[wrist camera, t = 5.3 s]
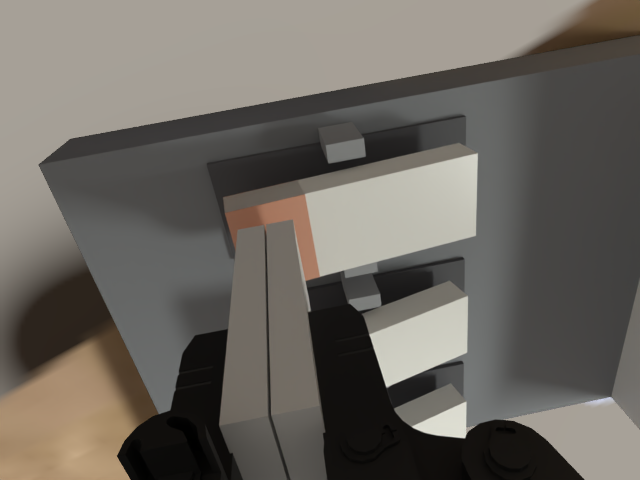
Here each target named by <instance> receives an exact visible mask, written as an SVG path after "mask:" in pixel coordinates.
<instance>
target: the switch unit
mask: <svg viewBox="0 0 640 480" xmlns="http://www.w3.org/2000/svg"><path fill="white" fill-rule="evenodd" d="M456 143H460V144H462V145H464V146H466V147H467V148H469V149H471V150H473V151H475V152H476V153H478V165H477V208H476V236H473V237H470V238H466V239H462V240H458V241H454V242H451V243H447V244H443V245H439V246H435V247H431V248H428V249H424V250H420V251H416V252H412V253H408V254H405V255H401V256H397V257H393V258H389V259H386V260H382V261H378V262H374V263H370V264H366V265H363V266H359V267H355V268H351V269H347V270H343V271H340V272H336V273H332V274H328V275H324V276H321V277H318V278H314V279H310V280H307V281H305V282H306V286H307V291H308V296H309V303H310V309H311V311H316V310H321V309H326V308H331V307H336V306H341V305H347V304H351V305H352V306H353V307H354V308H355V309H356V310H358V311H359V312H360V313H361V314H363V313H365V312H368V311H371V310H373V309H376V308H379V307H381V306H384V305H387V304H389V303H392V302H395V301H397V300H400V299H402V298H405V297H408V296H410V295H413V294H416V293H418V292H421V291H424V290H426V289H429V288H432V287H434V286H437V285H439V284H442V283H445V282H447V281H451V282H452V283H453V284H454V285H455V286H457V287H458V288H459V289H460V290H461V291H463V292H464V293H465V294H466V295H468V331H467V353H465V354H463V355H461V356H458V357H456V358H454V359H451V360H449V361H447V362H444V363H442V364H440V365H437V366H435V367H433V368H430V369H428V370H426V371H423V372H421V373H419V374H416V375H414V376H412V377H409V378H407V379H405V380H402V381H400V382H398V383H395V384H393V385H391V386H388V387H386V388H387V391H388V394H389V397H390V401H391V404H392V406H393V408H396V407H398V406H401V405H403V404H405V403H408V402H410V401H412V400H414V399H417V398H419V397H421V396H423V395H426V394H428V393H430V392H432V391H435V390H437V389H439V388H441V387H444V386H446V385H448V384H450V383H451V384H452V385H453V387H454V388H455V389H456V390H457V391H458V392H459V393H460V395H461V396H462V397H463V398H464V399H465V400H466V427H470V426H475V425H478V424H479V423H483V422H487V421H491V420H495V419H497V420H503V419H508V418H513V417H518V416H522V415H527V414H532V413H536V412H541V411H546V410H551V409H555V408H560V407H565V406H570V405H574V404H579V403H584V402H589V401H593V400H598V399H603V398H608V397H612V398H613V399H614V401H615V402H616V403H617V404H618V405H619V406H620V407H621V409H622V410H623V411H624V412H625V413H626V414H627V415H628V416H629V418H630V419H631V420H632V421H633V422H634V423H635V425H636V426H637V427H638V428H639V429H640V35H637V36H632V37H626V38H621V39H615V40H610V41H604V42H599V43H593V44H588V45H582V46H577V47H571V48H566V49H560V50H555V51H549V52H544V53H539V54H533V55H528V56H522V57H517V58H511V59H506V60H500V61H495V62H489V63H484V64H478V65H473V66H467V67H462V68H457V69H451V70H446V71H440V72H434V73H429V74H424V75H418V76H413V77H407V78H402V79H397V80H391V81H385V82H380V83H374V84H369V85H363V86H358V87H353V88H347V89H341V90H336V91H331V92H325V93H320V94H314V95H309V96H303V97H298V98H292V99H287V100H281V101H276V102H270V103H265V104H259V105H254V106H249V107H243V108H237V109H232V110H226V111H221V112H215V113H211V114H205V115H199V116H193V117H188V118H183V119H177V120H172V121H167V122H161V123H155V124H150V125H144V126H139V127H133V128H128V129H122V130H117V131H111V132H106V133H101V134H95V135H89V136H85V137H79V138H73V139H70V140H69V141H67V142H66V143H65V144H64V145H62V146H61V147H60V148H59V149H57V150H56V151H55V152H54V153H52V154H51V155H50V156H49V157H47V158H46V159H45V160H44V161H42V163H40V164H39V167H40V169H41V171H42V173H43V175H44V177H45V179H46V181H47V183H48V185H49V188H50V190H51V192H52V194H53V196H54V198H55V200H56V202H57V204H58V206H59V208H60V210H61V212H62V214H63V216H64V219H65V221H66V222H67V225H68V226H69V229H70V231H71V233H72V235H73V237H74V239H75V241H76V243H77V245H78V247H79V250H80V252H81V254H82V256H83V258H84V260H85V262H86V264H87V266H88V268H89V270H90V272H91V274H92V276H93V279H94V281H95V283H96V285H97V287H98V288H99V291H100V293H101V295H102V297H103V299H104V301H105V303H106V305H107V308H108V310H109V311H110V314H111V316H112V318H113V320H114V322H115V324H116V326H117V328H118V330H119V332H120V334H121V337H122V339H123V341H124V343H125V345H126V347H127V349H128V351H129V353H130V355H131V357H132V359H133V361H134V363H135V366H136V368H137V370H138V372H139V374H140V376H141V378H142V380H143V382H144V384H145V386H146V388H147V390H148V392H149V395H150V397H151V399H152V401H153V403H154V405H155V407H156V409H157V411H158V413H159V414H161V413H164V412H167V411H170V409H171V405H172V400H173V395H174V391H176V388H175V386H176V381H177V376H178V375H179V367H180V362H181V358H182V353H183V352H184V350H185V349H186V347H187V346H188V345H189V343H190V342H191V340H192V339H193V337H194V336H195V335H199V334H204V333H210V332H215V331H220V330H225V329H228V326H229V315H230V305H231V294H232V284H233V273H234V262H235V252H236V251H235V247H234V243H233V240H232V236H231V233H230V229H229V226H228V222H227V219H226V215H225V210H224V202H223V197H226V196H230V195H235V194H239V193H243V192H248V191H252V190H256V189H261V188H265V187H269V186H274V185H278V184H282V183H286V182H291V181H295V180H300V179H305V178H309V177H313V176H318V175H322V174H326V173H331V172H335V171H339V170H344V169H348V168H352V167H357V166H361V165H365V164H370V163H374V162H378V161H383V160H387V159H391V158H395V157H400V156H404V155H408V154H413V153H417V152H421V151H426V150H430V149H434V148H439V147H443V146H447V145H452V144H456Z"/></svg>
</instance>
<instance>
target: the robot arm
mask: <svg viewBox="0 0 640 480" xmlns="http://www.w3.org/2000/svg"><path fill="white" fill-rule="evenodd" d="M266 233H267V234H266ZM175 388H176V391H174V395H173V400H172V405H171V409H170V411H167V412H164V413H161V414H158V415H155V416H153V417H151V418H150V419H148V420H147V421H145V422H144V423H142V424H141V425H139V426H138V427H137V428H136V429H135V430H134V431H133V432H132V433H131V434H130V435H129V436H128V437H127V439H126V440H125V441H124V443H123V445H122V447H121V449H120V451H119V453H118V455H117V457H118V459H119V461H120V462H121V464H122V466H123V467H124V469H125V471H126V472H127V474H128V476H129V477H130V479H131V480H584V479H583V478H582V477H581V476H580V475H579V473H577V471H576V470H575V469H574V468H573V467H572V466H571V465H570V464H569V463H568V462H567V461H566V460H565V459H564V458H563V457H562V456H561V455H560V454H559V453H558V452H557V450H556V449H555V448H554V447H553V446H552V445H551V444H550V443H549V442H548V441H547V440H546V439H544V438H543V437H542V436H541V435H539V434H538V433H537V432H536V431H534V430H533V429H532V428H529V427H527V426H525V425H522V424H520V423H517V422H515V421H506V420H497V419H495V420H491V421H487V422H483V423H479V424H478V425H477V426H475V427H474V428H473V429H471V430H470V431H469V432H468V433H467V435H466V437H465V438H457V437H448V436H438V435H433V434H428V433H424V432H422V431H419V430H417V429H415V428H412V427H411V426H410V425H408V424H407V423H405V422H404V421H403V420H402V419H401V418H400V417H399V416H398V414H397V413H396V412H395V410H394V408H393V406H392V404H391V401H390V397H389V394H388V391H387V388H386V385H385V382H384V379H383V375H382V372H381V369H380V366H379V363H378V360H377V356H376V353H375V350H374V347H373V344H372V341H371V338H370V335H369V331H368V328H367V325H366V322H365V319H364V316H363V315H362V314H361V313H360V312H359V311H358V310H356V309H355V308H354V307H353V306H352V305H351V304H347V305H341V306H336V307H331V308H326V309H321V310H316V311H311V309H310V303H309V296H308V291H307V286H306V282H305V277H304V272H303V267H302V262H301V257H300V252H299V247H298V242H297V237H296V232H295V227H294V222H293V219H292V220H287V221H282V222H276V223H271V224H266V230H265V226H264V225H260V226H255V227H250V228H244V229H239V230H238V231H237V241H236V252H235V262H234V273H233V284H232V294H231V305H230V315H229V326H228V329H225V330H220V331H215V332H210V333H204V334H199V335H195V336H194V337H193V339H192V340H191V342H190V343H189V345H188V346H187V347H186V349H185V350H184V352H183V353H182V358H181V362H180V367H179V375H178V376H177V381H176V386H175Z"/></svg>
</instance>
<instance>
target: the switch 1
mask: <svg viewBox="0 0 640 480" xmlns="http://www.w3.org/2000/svg"><path fill="white" fill-rule="evenodd" d="M477 165H478V153H476V152H475V151H473V150H471V149H469V148H467V147H466V146H464V145H462V144H460V143H456V144H452V145H447V146H443V147H439V148H434V149H430V150H426V151H421V152H417V153H413V154H408V155H404V156H400V157H395V158H391V159H387V160H383V161H378V162H374V163H370V164H365V165H361V166H357V167H352V168H348V169H344V170H339V171H335V172H331V173H326V174H322V175H318V176H313V177H309V178H305V179H300V180H295V181H291V182H286V183H282V184H278V185H274V186H269V187H265V188H261V189H256V190H252V191H248V192H243V193H239V194H235V195H230V196H226V197H223V202H224V210H225V215H226V219H227V222H228V226H229V229H230V233H231V236H232V240H233V243H234V247H235V251H236V241H237V231H238V230H239V229H244V228H250V227H255V226H260V225H264V226H265V230H266V224H271V223H276V222H282V221H287V220H292V219H293V222H294V227H295V232H296V237H297V242H298V247H299V252H300V257H301V262H302V267H303V272H304V277H305V281H307V280H310V279H314V278H318V277H321V276H324V275H328V274H332V273H336V272H340V271H343V270H347V269H351V268H355V267H359V266H363V265H366V264H370V263H374V262H378V261H382V260H386V259H389V258H393V257H397V256H401V255H405V254H408V253H412V252H416V251H420V250H424V249H428V248H431V247H435V246H439V245H443V244H447V243H451V242H454V241H458V240H462V239H466V238H470V237H473V236H476V208H477ZM266 234H267V233H266Z"/></svg>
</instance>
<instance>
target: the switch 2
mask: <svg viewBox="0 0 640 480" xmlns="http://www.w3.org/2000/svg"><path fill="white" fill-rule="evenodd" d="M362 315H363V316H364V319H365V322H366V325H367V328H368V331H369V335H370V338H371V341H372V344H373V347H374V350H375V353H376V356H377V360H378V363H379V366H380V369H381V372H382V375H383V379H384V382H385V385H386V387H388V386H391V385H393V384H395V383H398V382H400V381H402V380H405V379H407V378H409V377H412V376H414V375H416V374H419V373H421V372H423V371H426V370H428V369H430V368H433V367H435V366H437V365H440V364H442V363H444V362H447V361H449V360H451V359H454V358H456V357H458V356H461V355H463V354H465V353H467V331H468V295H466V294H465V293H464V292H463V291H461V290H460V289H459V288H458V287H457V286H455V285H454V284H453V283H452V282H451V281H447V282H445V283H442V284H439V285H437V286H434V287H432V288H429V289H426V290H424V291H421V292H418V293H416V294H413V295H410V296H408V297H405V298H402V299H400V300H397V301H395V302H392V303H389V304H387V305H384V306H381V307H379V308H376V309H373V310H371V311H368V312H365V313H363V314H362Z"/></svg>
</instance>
